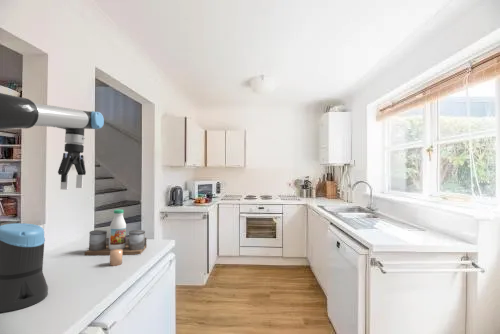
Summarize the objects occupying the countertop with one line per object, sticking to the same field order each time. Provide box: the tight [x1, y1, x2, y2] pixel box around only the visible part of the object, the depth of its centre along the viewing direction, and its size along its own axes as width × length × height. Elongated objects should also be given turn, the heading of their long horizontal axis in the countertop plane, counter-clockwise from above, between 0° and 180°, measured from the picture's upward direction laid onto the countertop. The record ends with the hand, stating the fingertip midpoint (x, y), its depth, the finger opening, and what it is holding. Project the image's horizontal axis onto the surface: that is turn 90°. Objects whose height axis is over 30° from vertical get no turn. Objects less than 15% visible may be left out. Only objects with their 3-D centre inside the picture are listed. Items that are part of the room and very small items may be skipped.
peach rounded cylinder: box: [109, 249, 123, 267], centre depth 118 cm, size 5×5×6 cm
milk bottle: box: [108, 209, 127, 250], centre depth 136 cm, size 8×8×20 cm
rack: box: [84, 229, 148, 256], centre depth 137 cm, size 13×27×10 cm, turn 98°
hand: (72, 188), depth 124 cm, fingers open, 13 cm apart
